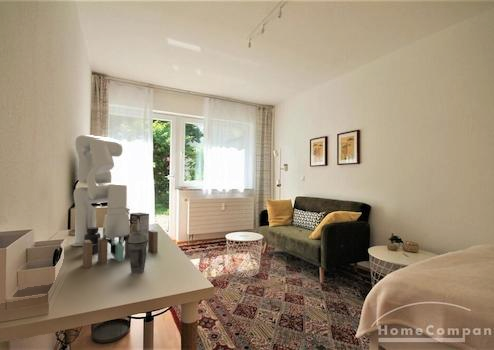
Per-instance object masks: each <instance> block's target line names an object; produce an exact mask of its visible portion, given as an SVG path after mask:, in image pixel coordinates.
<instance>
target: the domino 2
mask: <svg viewBox="0 0 494 350" xmlns="http://www.w3.org/2000/svg"><path fill="white" fill-rule="evenodd" d="M107 239H108V238H106V239H102V237H100V238H98V253H97V262H98V263H99V264H100V265H101V266H102V265H107V264H108V247H109V246H108V240H107Z"/></svg>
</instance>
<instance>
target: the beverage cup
mask: <svg viewBox="0 0 494 350" xmlns="http://www.w3.org/2000/svg"><path fill="white" fill-rule="evenodd" d="M128 247H129V253H130V259H129V262H130V273H131V274H132V275H133V274H134V275H137V274H138V275H139V274H142V273H144V271H145V267H146V258H147V257H146V256H147V249H148V248H147V247H148V237H147V235H146V234H145V233H144V232H143V231H139V219H137V231H135V232H133V233H132V234H131V235H130V237H129V239H128Z"/></svg>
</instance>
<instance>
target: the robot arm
mask: <svg viewBox="0 0 494 350" xmlns="http://www.w3.org/2000/svg"><path fill="white" fill-rule="evenodd" d="M74 142H75V143H74V145H75V151H76V153H77V156H78V157H77V158H78V166H77V167H78V168H77V169H78V170H77V179H78V182H79V183H80V184H83V185H84V186H83V185H82V186H78V187H76V188H75V189H74V190H73V199H74V208H75V210H74V213H75V215H74V216H75V217H74V218H75V221H74V224H75V226H74V240H73V241H71V245H70V246H73V247H83V241H84V235H85V234H87V232H86V231H87V228H90V227H97V211H96V208H95V207H94V206H93V205H92V204H98V203H106V202H107V205H106V206H107V207H106V208H107V210H106V212H107V214H105V215H104V218H103V225H102V237H101V238H102V239H107V240H108V243H109V244H110V253H111V252H112V253H113V254H115V240H116V238H118V242H119V243H120V244H122V245H123V244H125V240H126V239H127V238H128V235H131V234H130V216H129V213H128V212H130V210H131V209H130V208H129V207H127V203H128V202H127V201H128V199H127V198H128V196H127V194H128V192H127V189H128V188H127V187H128V186H127V185H126V183H125V184H124V183H120V182H118V183H117V182H112V172H111V170H113V168H114V167H115V162H114V159H113V157H117V158H118V157H120V156H122V154H123V145H122V143H121V142H120V141H118V140H116V139H114V138H111V137H104V136H95V135H89V134H81V135H78V136H77V137H76V139H75V141H74ZM85 184H86V186H85Z"/></svg>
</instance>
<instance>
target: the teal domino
mask: <svg viewBox="0 0 494 350" xmlns="http://www.w3.org/2000/svg"><path fill="white" fill-rule="evenodd" d="M124 254H125V245H123V244H120V243H119V240H117V239H115V254H113V253H112V252H111V251H110V255H111V256H113V258H114V259H115V260H116V261H117V262H121V261H123V260H124Z"/></svg>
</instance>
